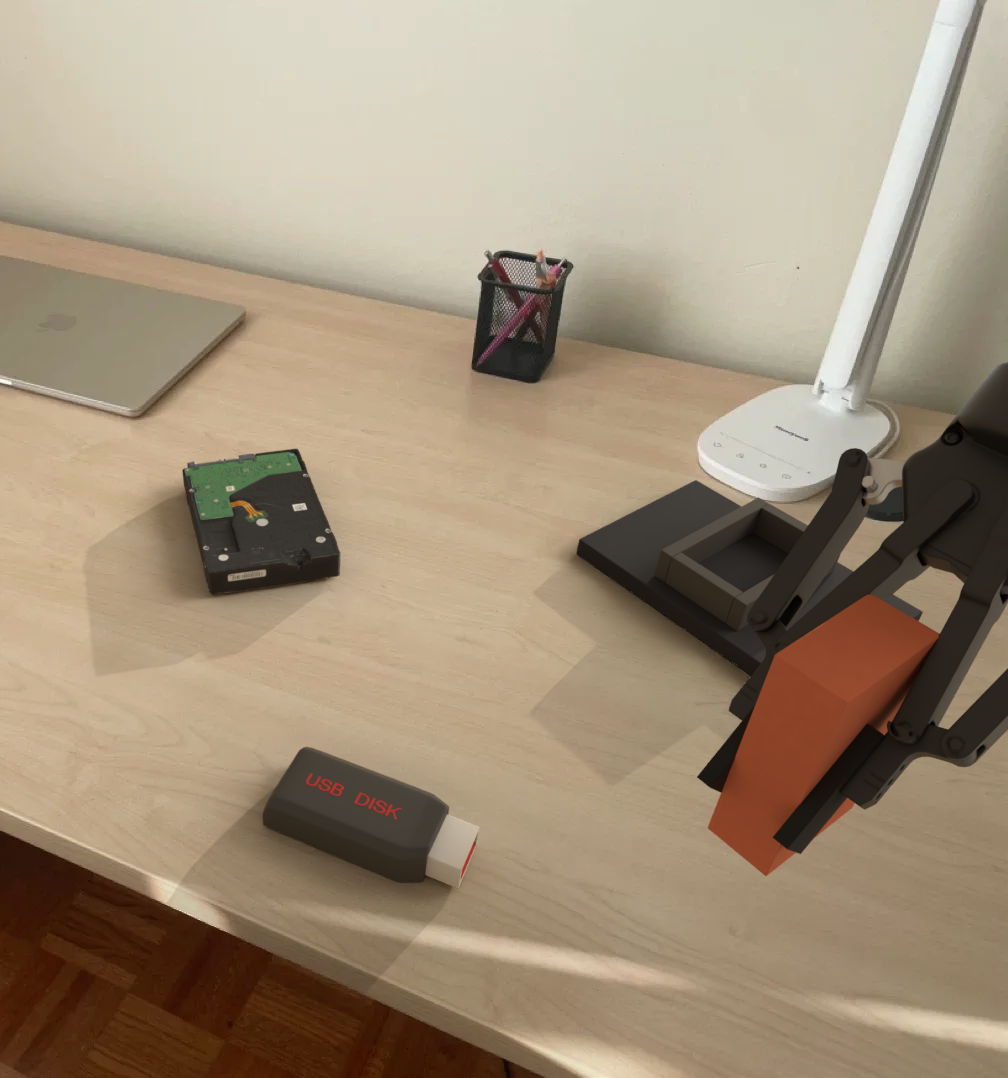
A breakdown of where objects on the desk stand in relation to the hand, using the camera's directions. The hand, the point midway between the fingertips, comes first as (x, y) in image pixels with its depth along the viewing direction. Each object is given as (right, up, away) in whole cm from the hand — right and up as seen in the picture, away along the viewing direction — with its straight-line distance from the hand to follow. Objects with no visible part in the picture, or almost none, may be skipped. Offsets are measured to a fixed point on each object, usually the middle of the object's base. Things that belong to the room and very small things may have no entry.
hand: (748, 814), depth 49 cm
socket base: (+13, +9, +31) cm, 35 cm away
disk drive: (-24, +13, +37) cm, 46 cm away
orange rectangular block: (+3, -1, +4) cm, 5 cm away
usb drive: (-16, -5, +14) cm, 22 cm away
